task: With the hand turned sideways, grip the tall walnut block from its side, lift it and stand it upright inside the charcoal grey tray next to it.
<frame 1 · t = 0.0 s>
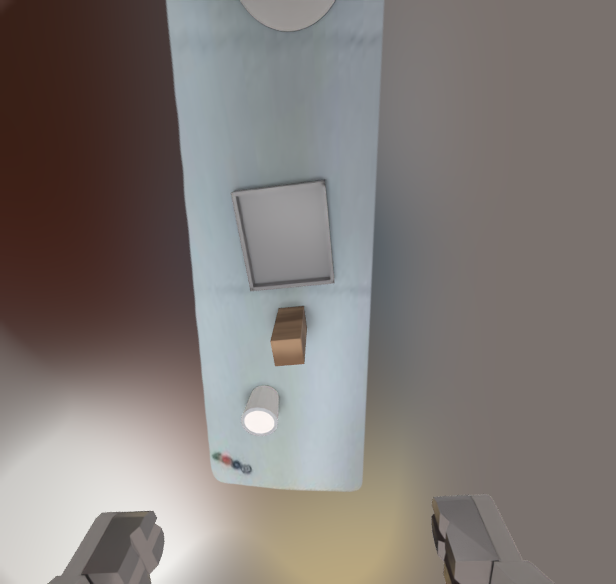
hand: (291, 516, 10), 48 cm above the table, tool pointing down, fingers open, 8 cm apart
walnut block: (292, 318, 62), on the table
charcoal tray: (286, 236, 56), on the table
white cup: (265, 395, 69), on the table
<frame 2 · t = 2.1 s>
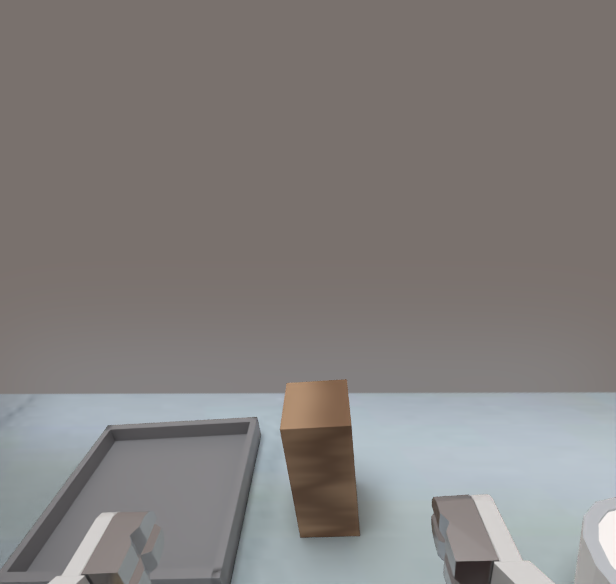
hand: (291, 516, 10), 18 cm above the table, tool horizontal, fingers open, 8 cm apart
walnut block: (329, 507, 28), on the table
charcoal tray: (158, 502, 30), on the table
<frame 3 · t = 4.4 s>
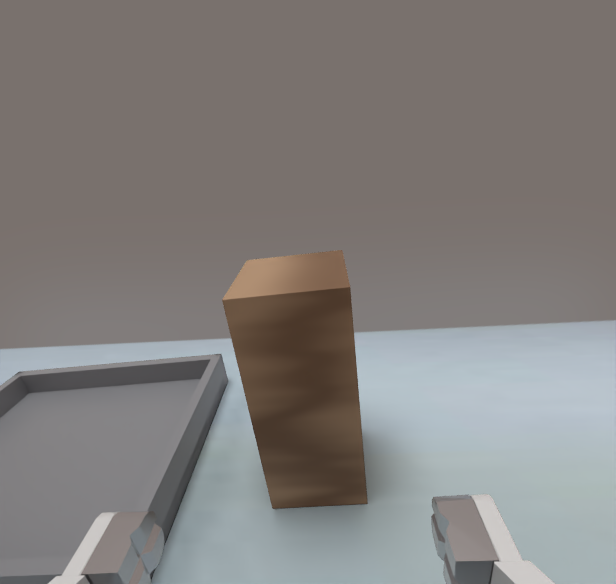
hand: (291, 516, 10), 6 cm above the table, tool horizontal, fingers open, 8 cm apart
walnut block: (319, 465, 18), on the table
charcoal tray: (67, 465, 20), on the table
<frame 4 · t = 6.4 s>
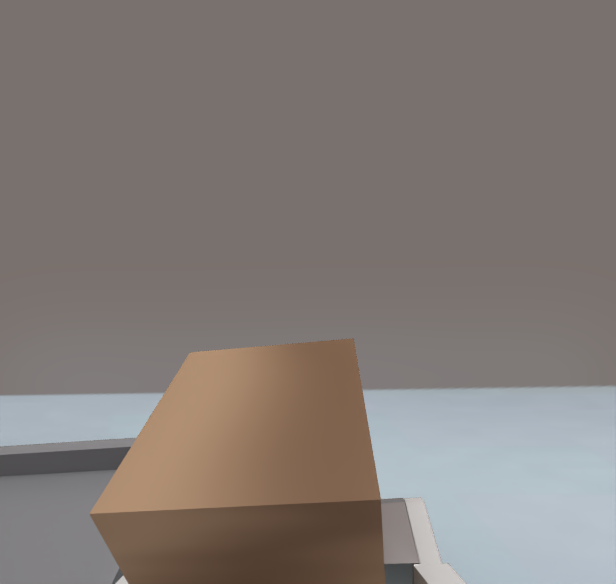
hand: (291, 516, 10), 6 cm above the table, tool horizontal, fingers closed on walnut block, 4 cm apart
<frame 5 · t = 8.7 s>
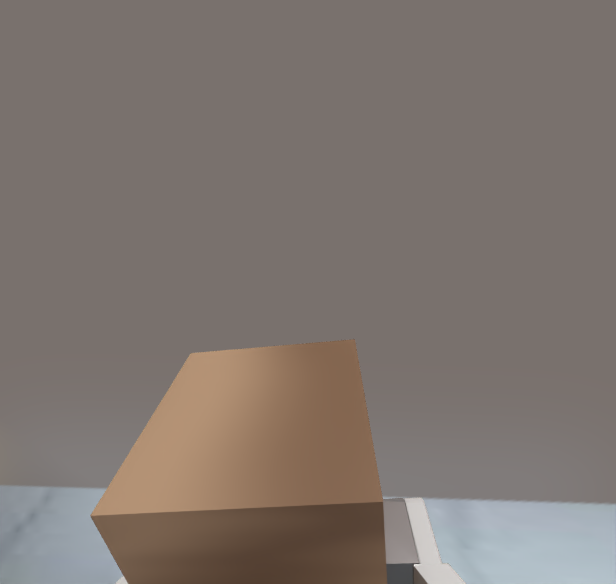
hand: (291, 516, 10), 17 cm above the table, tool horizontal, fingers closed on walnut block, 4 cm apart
when the fingers open (8 cm above the table, at t = 10.9 s): walnut block drops 1 cm, resting on charcoal tray.
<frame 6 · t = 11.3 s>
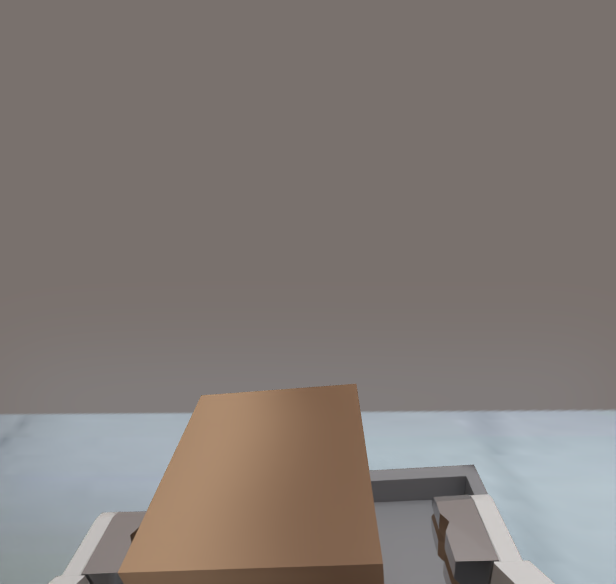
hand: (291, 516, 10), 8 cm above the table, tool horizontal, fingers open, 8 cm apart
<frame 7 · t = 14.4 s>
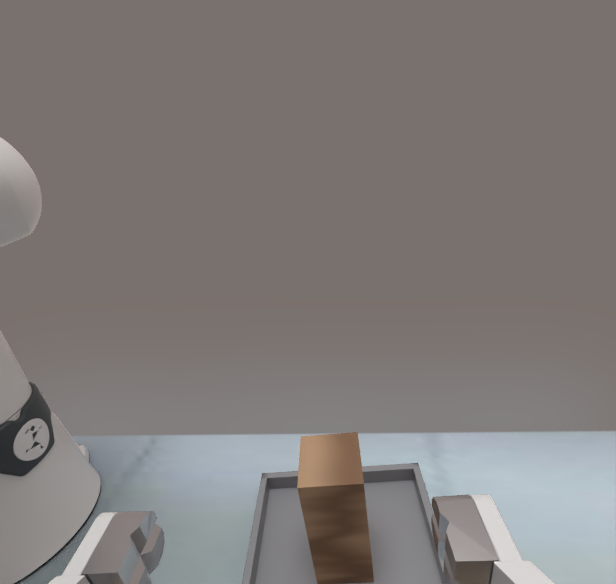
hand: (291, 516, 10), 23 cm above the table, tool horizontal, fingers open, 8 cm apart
walnut block: (343, 552, 29), point 1 cm above the table, touching charcoal tray
charcoal tray: (345, 557, 30), on the table
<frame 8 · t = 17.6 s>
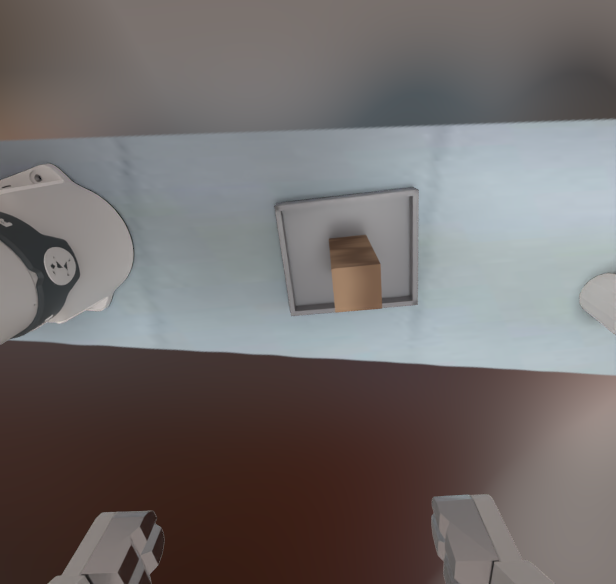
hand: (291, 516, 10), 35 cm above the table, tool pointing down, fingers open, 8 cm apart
walnut block: (348, 254, 42), point 1 cm above the table, touching charcoal tray
charcoal tray: (348, 252, 43), on the table
white cup: (601, 293, 44), on the table
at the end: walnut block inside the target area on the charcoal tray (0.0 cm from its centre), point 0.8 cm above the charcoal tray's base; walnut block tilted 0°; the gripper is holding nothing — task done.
